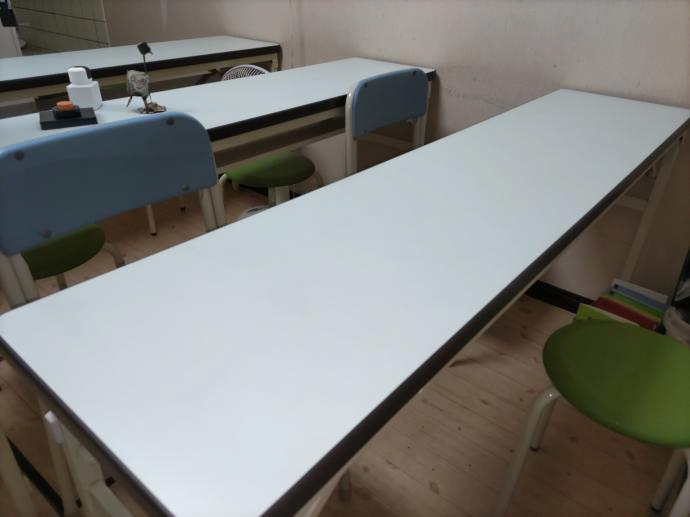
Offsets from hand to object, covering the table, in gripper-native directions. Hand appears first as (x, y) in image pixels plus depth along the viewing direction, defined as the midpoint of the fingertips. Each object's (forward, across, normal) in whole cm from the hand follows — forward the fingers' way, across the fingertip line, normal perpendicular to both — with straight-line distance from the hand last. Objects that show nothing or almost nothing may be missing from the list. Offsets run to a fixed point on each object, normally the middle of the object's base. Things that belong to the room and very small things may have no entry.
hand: (10, 26), depth 128 cm
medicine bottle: (+25, -14, +14) cm, 32 cm away
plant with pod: (+25, -3, +30) cm, 39 cm away
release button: (+21, 0, +8) cm, 23 cm away
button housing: (+25, 0, +8) cm, 26 cm away
